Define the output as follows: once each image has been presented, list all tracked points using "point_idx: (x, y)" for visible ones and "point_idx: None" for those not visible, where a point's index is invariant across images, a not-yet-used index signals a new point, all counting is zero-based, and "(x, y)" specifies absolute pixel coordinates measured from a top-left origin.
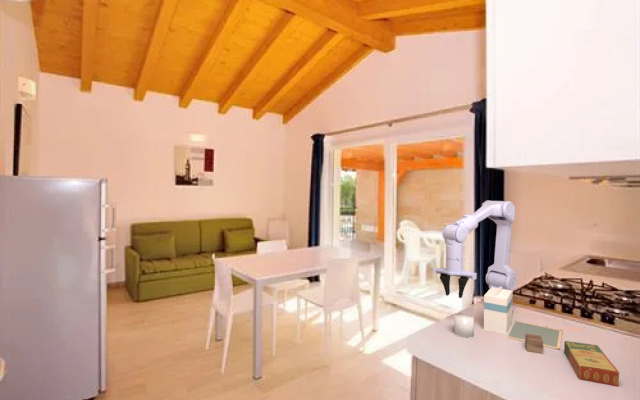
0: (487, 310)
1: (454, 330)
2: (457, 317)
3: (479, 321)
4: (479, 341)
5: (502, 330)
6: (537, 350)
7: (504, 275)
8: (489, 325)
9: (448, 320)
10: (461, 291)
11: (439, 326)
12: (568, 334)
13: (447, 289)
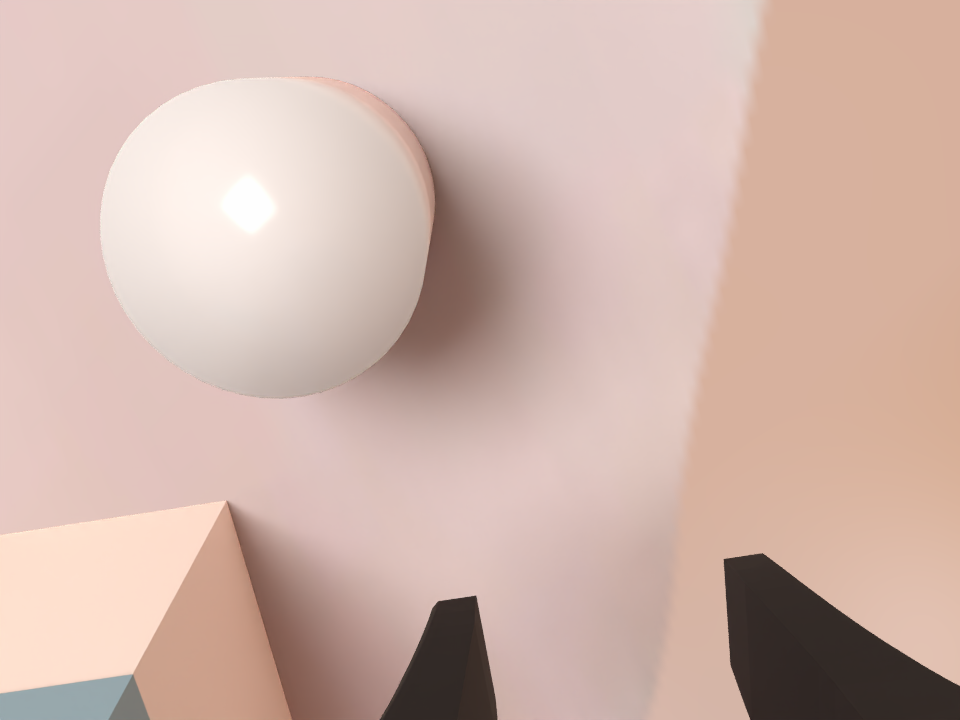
0: (85, 672)
1: (409, 133)
2: (320, 120)
3: (368, 669)
4: (73, 125)
5: (12, 551)
6: None
7: None
8: (142, 544)
9: (648, 461)
10: (392, 702)
11: (657, 201)
12: None
13: (788, 659)
